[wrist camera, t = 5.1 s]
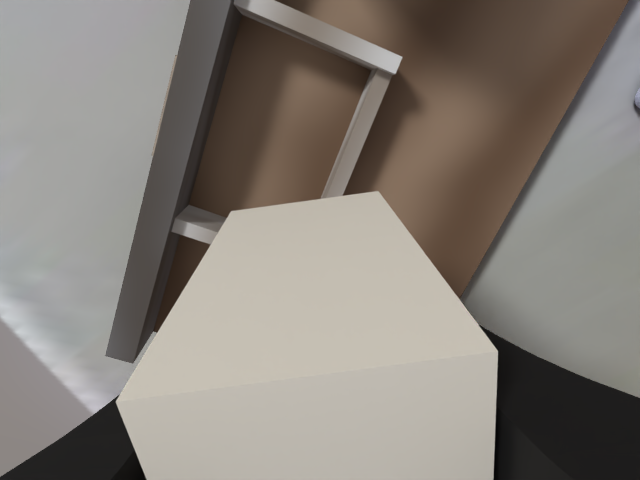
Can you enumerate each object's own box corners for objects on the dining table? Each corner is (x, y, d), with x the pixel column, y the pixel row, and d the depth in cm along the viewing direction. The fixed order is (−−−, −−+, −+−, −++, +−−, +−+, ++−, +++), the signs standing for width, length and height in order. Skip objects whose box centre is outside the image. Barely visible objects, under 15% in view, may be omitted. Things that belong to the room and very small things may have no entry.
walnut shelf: (690, -139, 15) (800, -205, 11) (396, 389, 23) (412, 439, 20) (311, -371, 12) (313, -538, 9) (134, 313, 21) (102, 354, 17)
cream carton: (378, 191, 11) (497, 351, 4) (392, 371, 13) (486, 667, 6) (226, 211, 11) (105, 402, 4) (266, 388, 13) (227, 700, 6)
